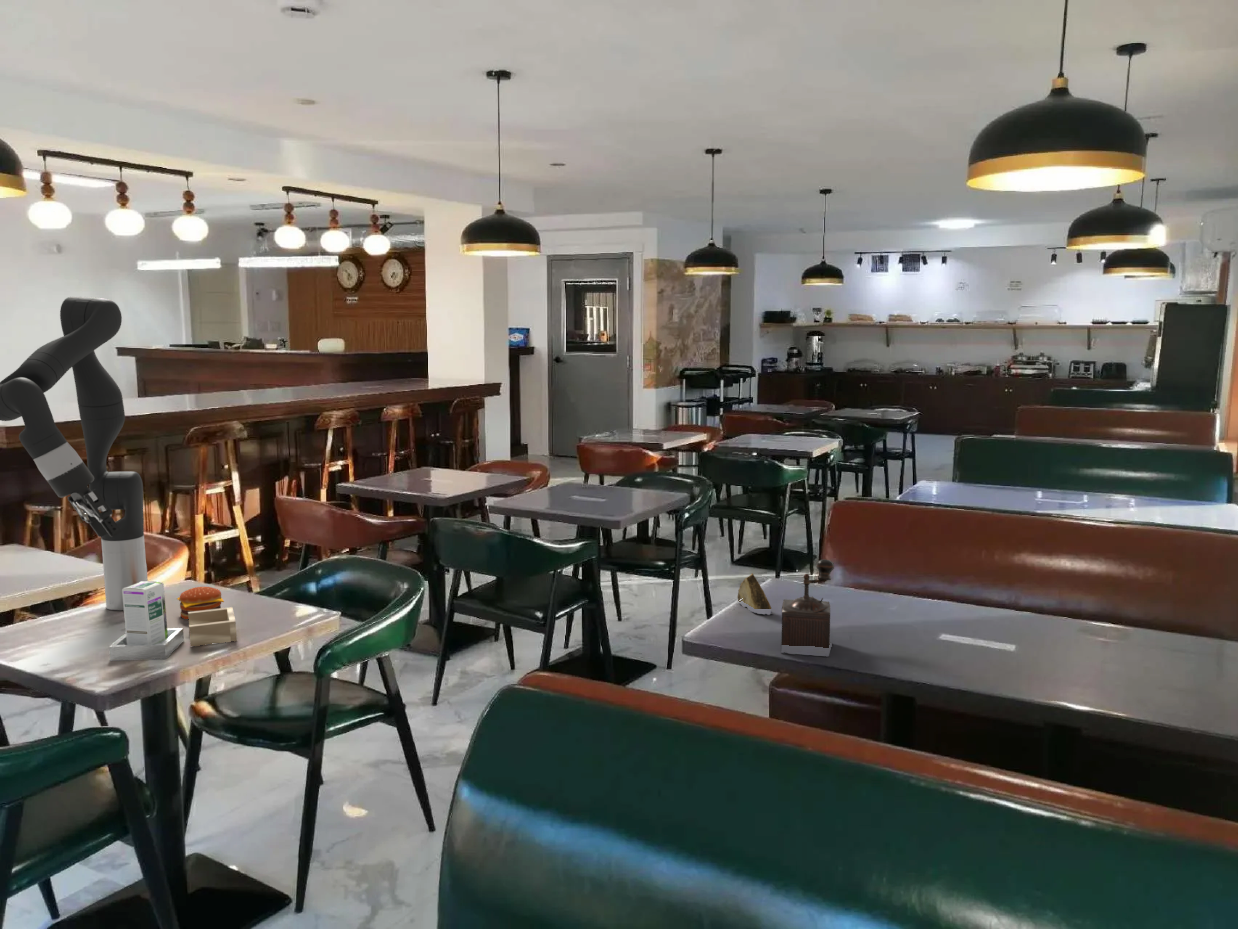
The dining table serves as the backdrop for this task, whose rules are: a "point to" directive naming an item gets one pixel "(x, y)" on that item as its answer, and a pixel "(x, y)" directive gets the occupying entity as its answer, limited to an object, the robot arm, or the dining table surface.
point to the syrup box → (145, 613)
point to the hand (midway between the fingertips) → (110, 534)
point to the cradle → (212, 626)
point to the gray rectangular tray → (146, 647)
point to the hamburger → (199, 600)
